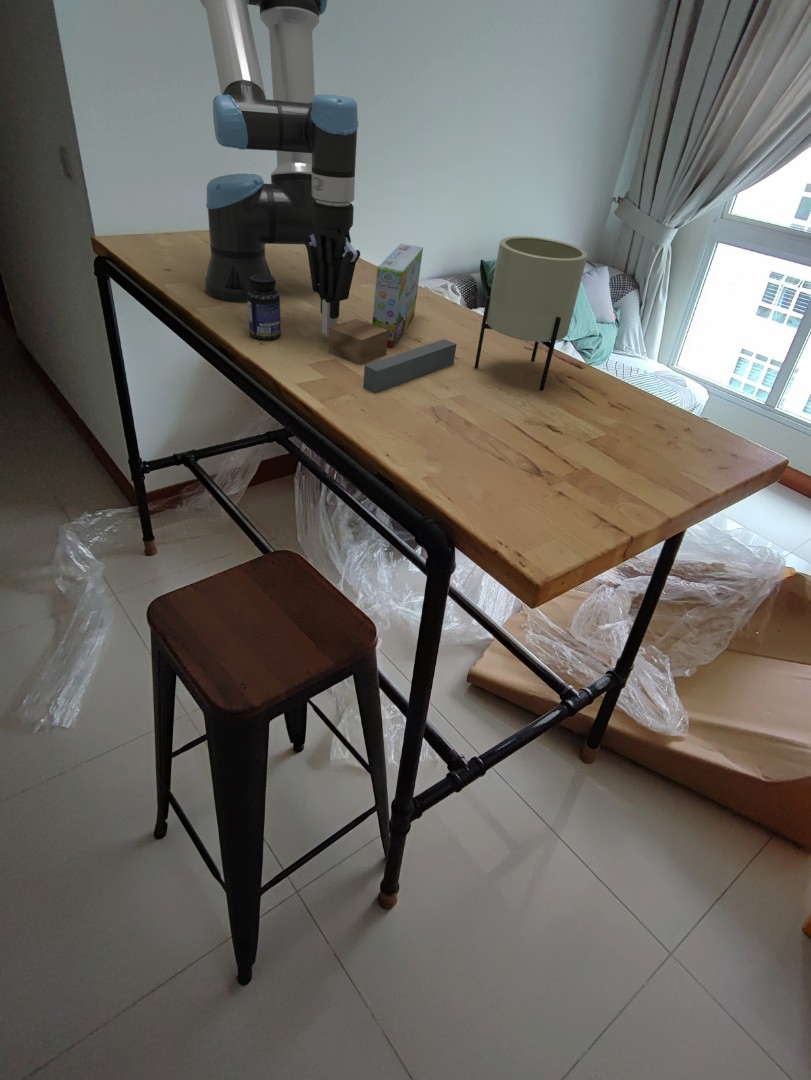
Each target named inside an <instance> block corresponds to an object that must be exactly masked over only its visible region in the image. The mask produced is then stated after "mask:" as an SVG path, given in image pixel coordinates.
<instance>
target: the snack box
mask: <svg viewBox="0 0 811 1080" xmlns="http://www.w3.org/2000/svg"><path fill="white" fill-rule="evenodd" d="M423 250H424V247H422V246H417V245H411V244H404V243H400V244H399V245H398V246H397V247H395V249H394V250H393V251H392V252H391V253H390V254H389V255H388V256H386V258H385V259H384V260H383V261H382V262H381V263H380V264H379V265H378V266H377V270H376V282H375V293H374V302H373V303H374V304H373V313H372V323H371V324H372V325H375V326H378V327H380V328H383V329H386V330H388V340H387V348H388V347H389V348H395V346H396V344H397V343H398V342H399V340H400V339H401V337H402V336H403V334H404V333H405V331H406V330H407V328H408V326H409V325H410V324H411V322H412V321H413V319H414V318H415V316H416V315H415V313H416V306H417V305H416V303H417V298H418V297H417V296H418V289H419V279H420V273H421V267H422V266H421V265H422V258H423V252H424V251H423Z"/></svg>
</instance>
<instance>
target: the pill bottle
mask: <svg viewBox="0 0 811 1080" xmlns="http://www.w3.org/2000/svg"><path fill="white" fill-rule="evenodd" d="M250 284H251V286H252V289H250V290H249V291H248V293H247V300H248V302H247V314H248V332H249V335H250V337H252V338H253V337H254V338H253V339H256V338H257V340H260V339H263V340H262V341H272V339H273V340H276V339H278V338H280V336H281V330H282V329H281V325H282V324H281V298H280V297H281V296H280V292H278V290H276V289H275V287H277V286H276V285H277V281H276V278H275V276H272V275H271V276H270V275H253V276H251V277H250Z"/></svg>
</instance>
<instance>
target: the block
mask: <svg viewBox="0 0 811 1080" xmlns="http://www.w3.org/2000/svg"><path fill="white" fill-rule="evenodd" d="M387 340H388V330H386V329H383V328H380V327H378V326H375V325H372V323H369V322H366V321H363V320H361V319H358V318H355V319H354V318H353V319H352V320H349V321H346V322H342V323H339V324H337V325H336V326H333V327H330V328H329V335H328V349H327V350H328V353H329V354H331V355H334V356H336V357H338V358H342V359H344V360H346V361H349V362H351V363H354V364H356V365H359V366H362V365H366V363H367V364H368V363H370V362H371V361H374V360H376V359H379V358H382V357H384V356H386V355H387V352H388V351H387V349H388V346H387Z"/></svg>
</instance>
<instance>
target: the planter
mask: <svg viewBox="0 0 811 1080" xmlns="http://www.w3.org/2000/svg"><path fill="white" fill-rule="evenodd" d="M587 259H588V253H587V251H586V250H585V249H583V248H581V247H580V246H576V245H575V244H574V245H573V244H571V243H568V242H564V241H562V240H561V241H560V240H556V239H552V238H546V237H545V238H544V237H538V236H526V235H525V236H522V235H521V236H519V235H518V236H507V237H505V238H502V239H501V240H500V241H499V246H498V251H497V256H496V264H495V268H494V273H493V279H492V284H491V285H492V286H491V290H490V296H486V298H485V305H484V311H483V314H482V315H483V316H482V320H481V321H482V322H481V327H480V332H479V338H478V344H477V351H476V357H475V361H474V369H477V370H478V369H479V365H480V358H481V353H482V346H483V343H484V342H483V341H484V334H485V330H494V331H495V332H498V333H499V334H501V335H504V336H506V337H509V338H513V339H517V340H520V341H521V340H522V341H526V342H527V341H529V342H534V344H533V350H532V354H531V358H530V362H532V363H534V362H535V360H536V356H537V352H538V348H539V343H541V344H542V345H544V346H546V347H547V348H548V351H547V355H546V360H545V364H544V368H543V372H542V375H541V381H540V385H539V389H538V390H539V391H542V392H543V391H544V389H545V385H546V383H547V378H548V373H549V369H550V365H551V361H552V357H553V354H554V349H555V347H556V346H555V345H556V341H560V340H562V339H564V338H565V337H567V336H568V333H569V330H570V326H571V322H572V318H573V313H574V311H575V307H576V303H577V299H578V298H577V297H578V295H579V291H580V287H581V282H582V278H583V275H584V272H585V271H584V270H585V267H586V263H587Z"/></svg>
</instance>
